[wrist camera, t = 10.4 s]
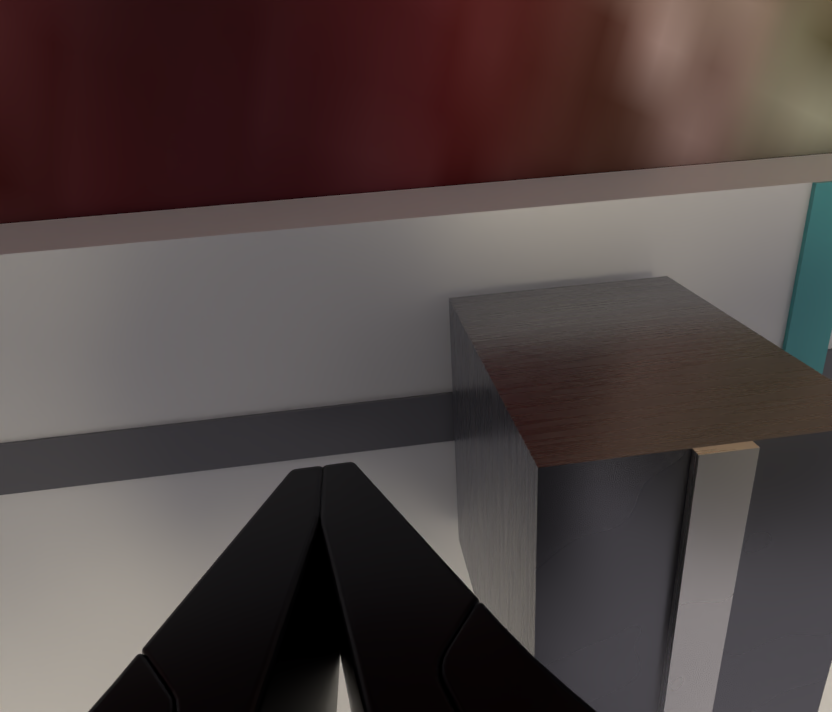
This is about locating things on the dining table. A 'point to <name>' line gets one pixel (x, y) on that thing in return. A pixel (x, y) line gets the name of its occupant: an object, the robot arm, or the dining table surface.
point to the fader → (646, 495)
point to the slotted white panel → (311, 367)
